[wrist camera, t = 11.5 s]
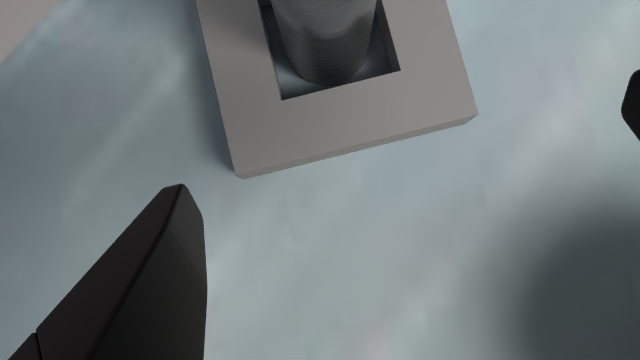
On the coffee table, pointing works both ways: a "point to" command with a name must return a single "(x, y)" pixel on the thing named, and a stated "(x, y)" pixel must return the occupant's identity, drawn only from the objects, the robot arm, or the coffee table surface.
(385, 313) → the coffee table surface
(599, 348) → the coffee table surface
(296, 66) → the grey peg
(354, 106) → the hole board
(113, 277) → the robot arm
